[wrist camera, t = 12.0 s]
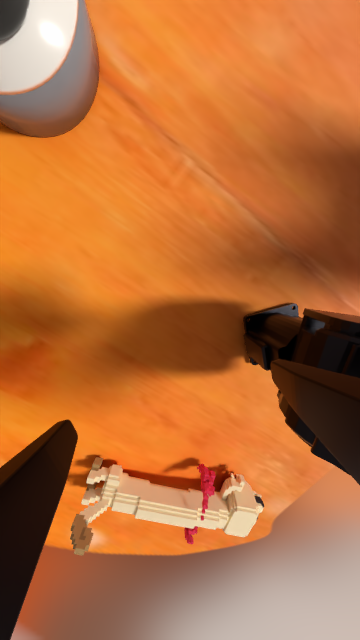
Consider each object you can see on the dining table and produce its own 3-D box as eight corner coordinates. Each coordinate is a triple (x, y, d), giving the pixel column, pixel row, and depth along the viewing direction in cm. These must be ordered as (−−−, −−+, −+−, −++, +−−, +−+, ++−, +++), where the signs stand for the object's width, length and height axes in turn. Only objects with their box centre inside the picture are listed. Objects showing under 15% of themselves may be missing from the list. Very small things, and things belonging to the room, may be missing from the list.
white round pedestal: (65, -72, 12) (22, -228, 9) (118, 121, 15) (103, 69, 11) (-93, -40, 12) (-213, -188, 8) (-9, 150, 15) (-67, 107, 11)
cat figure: (91, 484, 27) (244, 514, 29) (52, 579, 18) (272, 612, 20) (104, 432, 25) (267, 468, 27) (66, 512, 16) (309, 556, 18)
